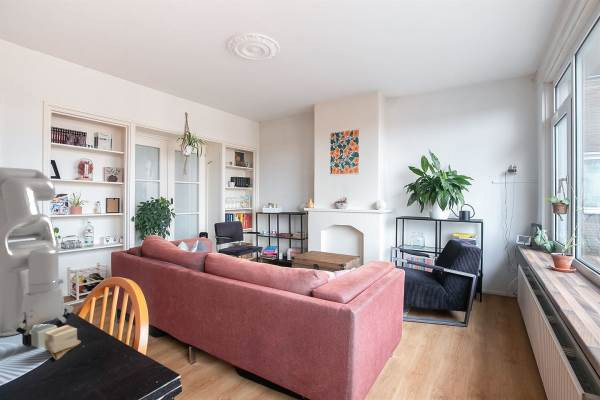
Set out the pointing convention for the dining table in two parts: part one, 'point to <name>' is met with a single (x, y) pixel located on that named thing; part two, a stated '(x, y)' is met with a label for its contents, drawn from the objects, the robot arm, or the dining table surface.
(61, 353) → the shard
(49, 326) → the sage block
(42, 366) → the dining table surface
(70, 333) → the beige metal block
